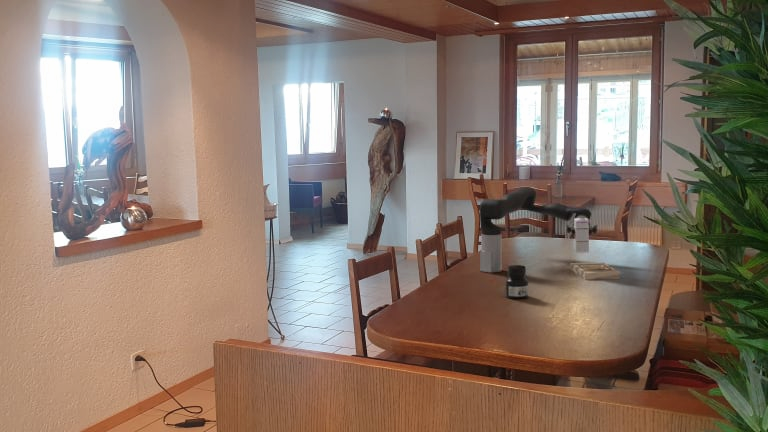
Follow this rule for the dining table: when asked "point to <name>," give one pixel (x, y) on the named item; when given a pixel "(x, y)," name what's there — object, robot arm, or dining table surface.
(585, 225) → the syrup box
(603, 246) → the dining table surface
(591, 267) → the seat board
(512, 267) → the ink bottle
